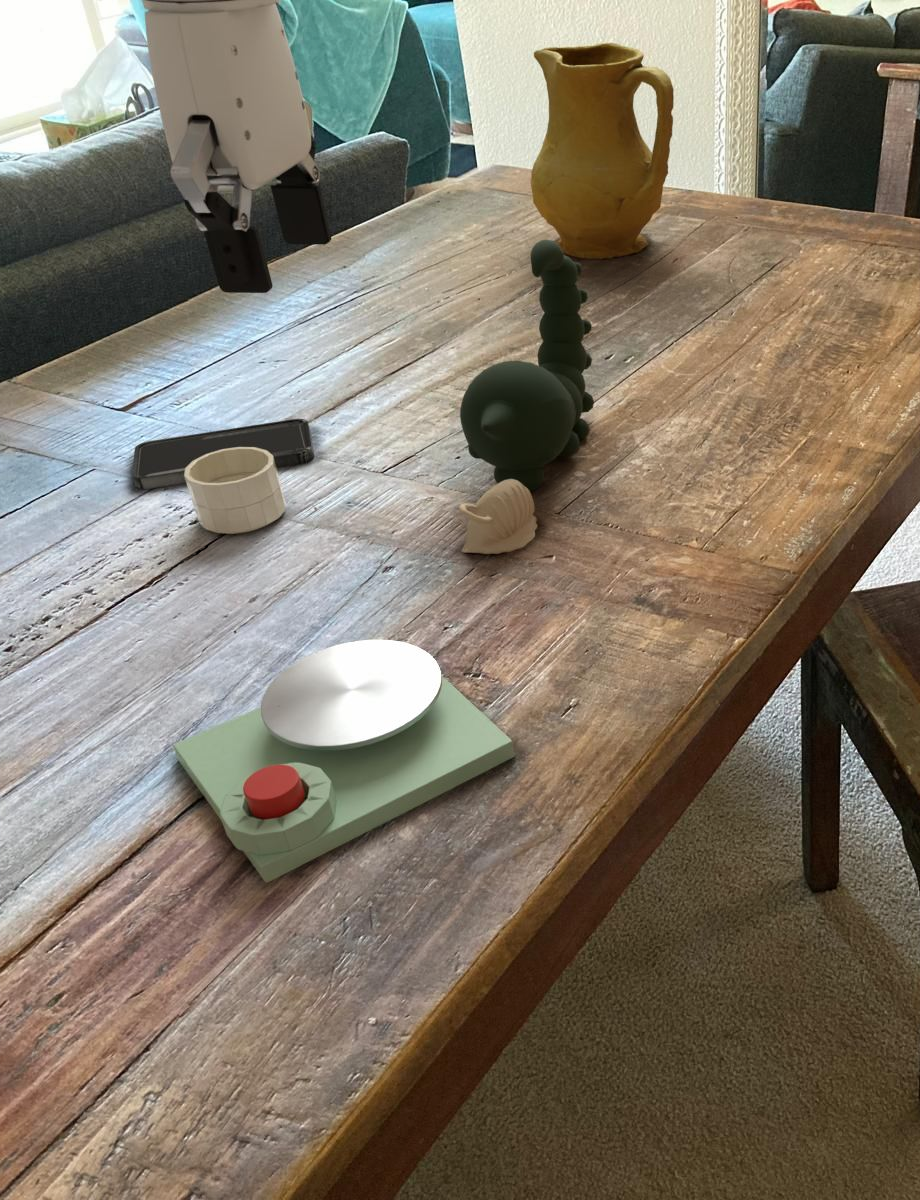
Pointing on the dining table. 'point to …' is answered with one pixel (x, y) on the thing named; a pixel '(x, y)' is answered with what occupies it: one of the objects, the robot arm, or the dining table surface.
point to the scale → (338, 778)
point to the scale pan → (351, 695)
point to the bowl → (235, 489)
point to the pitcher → (600, 149)
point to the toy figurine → (535, 384)
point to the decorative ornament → (500, 519)
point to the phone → (173, 455)
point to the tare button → (274, 791)
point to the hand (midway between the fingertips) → (279, 265)
